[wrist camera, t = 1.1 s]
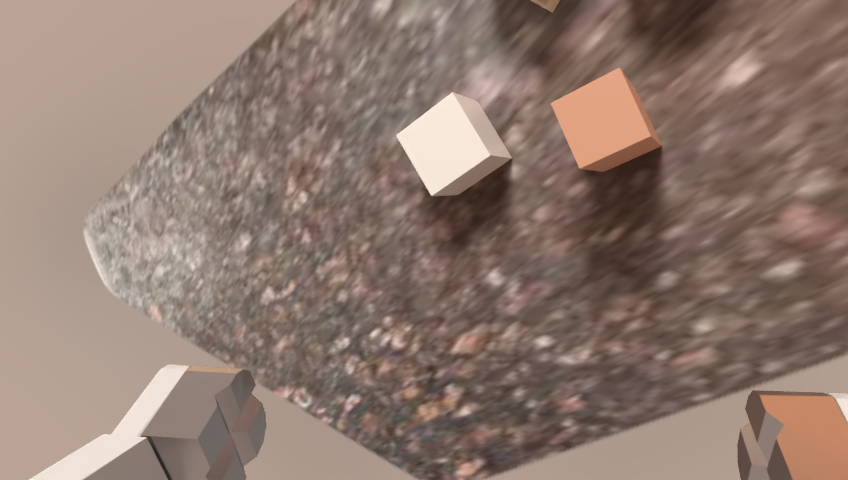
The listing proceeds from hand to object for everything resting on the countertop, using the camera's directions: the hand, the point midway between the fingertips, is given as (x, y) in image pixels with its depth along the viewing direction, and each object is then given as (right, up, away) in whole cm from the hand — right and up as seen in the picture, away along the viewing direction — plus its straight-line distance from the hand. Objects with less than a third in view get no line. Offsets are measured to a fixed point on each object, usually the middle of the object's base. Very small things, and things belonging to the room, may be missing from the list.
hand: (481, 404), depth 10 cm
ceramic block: (+2, +10, +36) cm, 37 cm away
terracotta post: (+12, +10, +31) cm, 35 cm away
